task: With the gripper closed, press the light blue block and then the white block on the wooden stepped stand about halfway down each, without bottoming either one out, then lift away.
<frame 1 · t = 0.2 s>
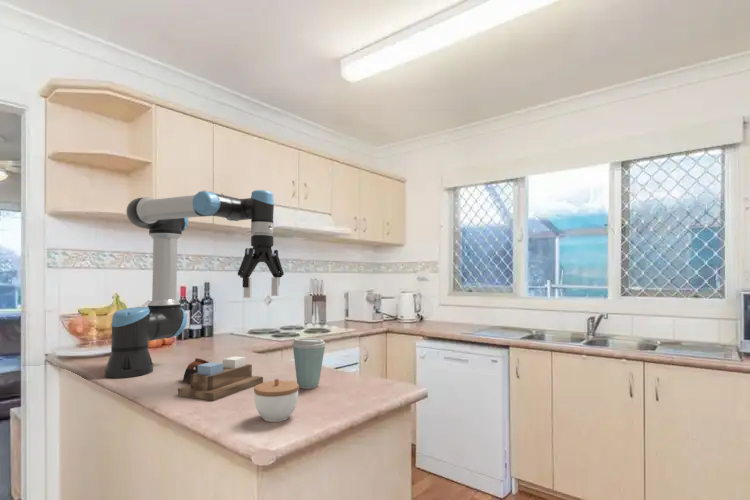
hand: (261, 296, 145), 28 cm above the countertop, fingers open, 13 cm apart
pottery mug: (198, 381, 141), on the countertop
lidded jar: (276, 418, 103), on the countertop
white block: (234, 364, 135), point 7 cm above the countertop, slide at 0.0 cm
light blue block: (210, 371, 126), point 7 cm above the countertop, slide at 0.0 cm
wooden stepped stand: (222, 388, 130), on the countertop
disposable coffee cup: (308, 387, 132), on the countertop
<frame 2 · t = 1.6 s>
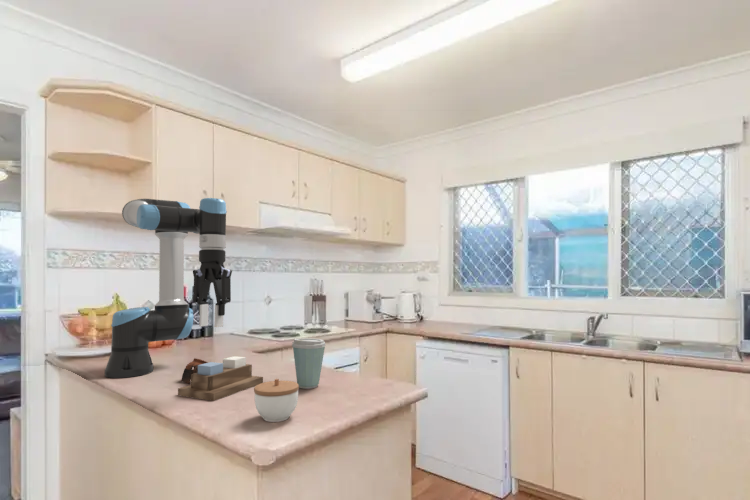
hand: (211, 326, 127), 20 cm above the countertop, fingers open, 5 cm apart
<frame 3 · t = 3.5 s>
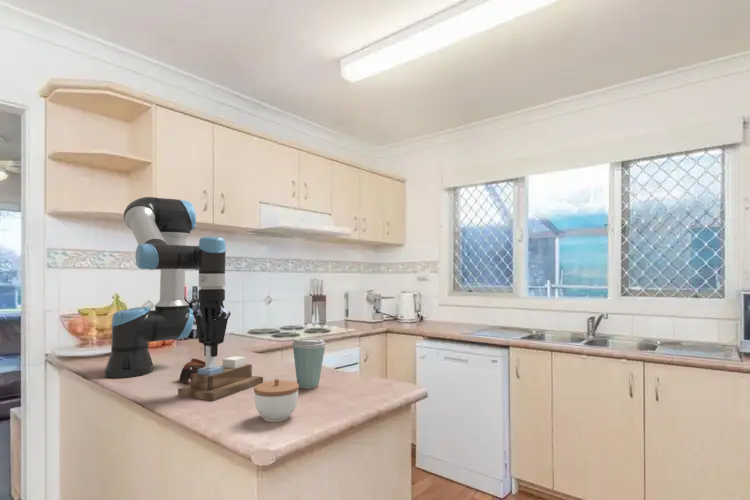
hand: (210, 367, 126), 8 cm above the countertop, fingers closed
light blue block: (210, 374, 126), point 5 cm above the countertop, slide at 1.1 cm, touching gripper
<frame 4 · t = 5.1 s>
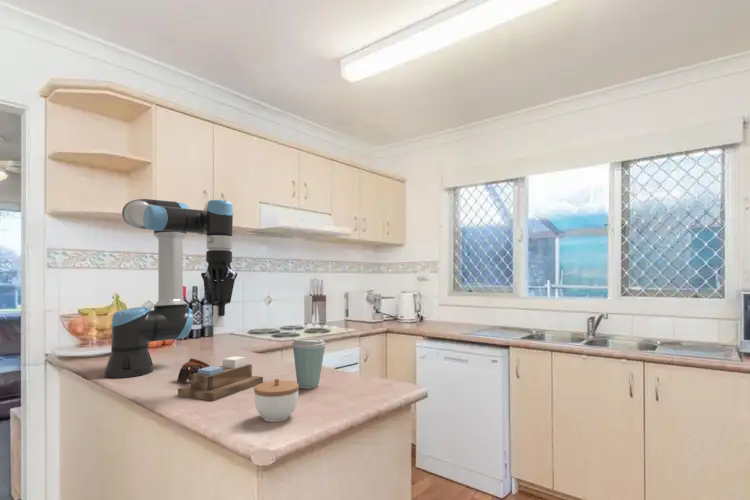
hand: (218, 326, 129), 19 cm above the countertop, fingers closed
light blue block: (210, 375, 126), point 5 cm above the countertop, slide at 1.2 cm
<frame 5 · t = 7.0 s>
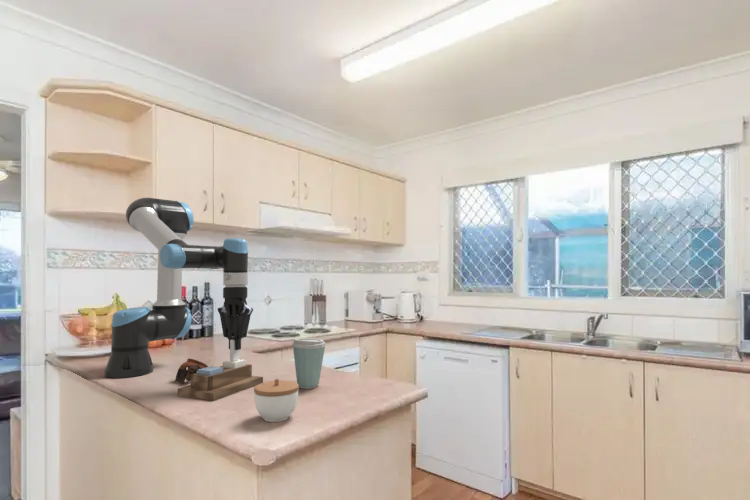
hand: (234, 359, 135), 8 cm above the countertop, fingers closed
white block: (234, 367, 135), point 6 cm above the countertop, slide at 0.8 cm, touching gripper
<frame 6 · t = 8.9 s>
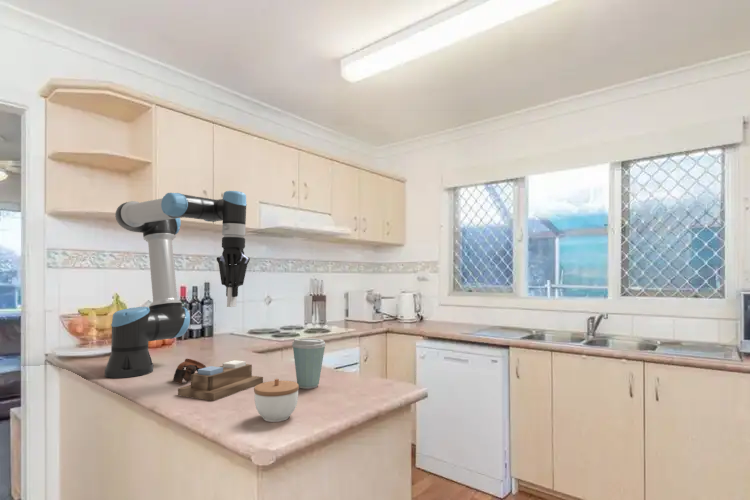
hand: (231, 306, 142), 25 cm above the countertop, fingers closed
white block: (234, 368, 135), point 5 cm above the countertop, slide at 1.3 cm
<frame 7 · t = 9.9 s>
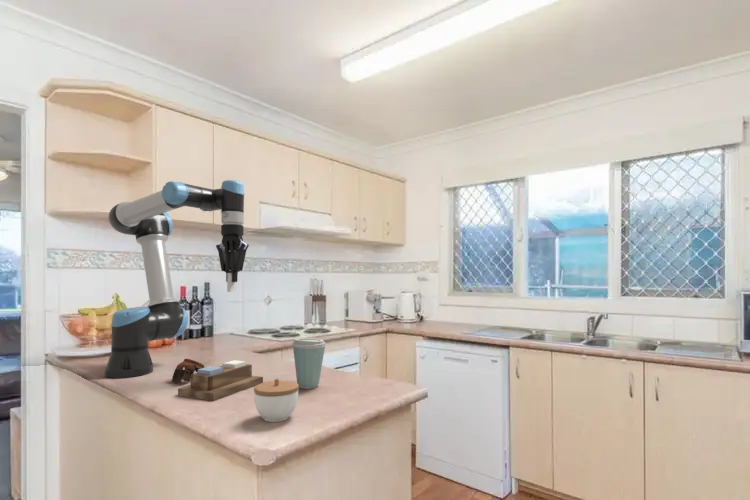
hand: (231, 291, 147), 29 cm above the countertop, fingers closed
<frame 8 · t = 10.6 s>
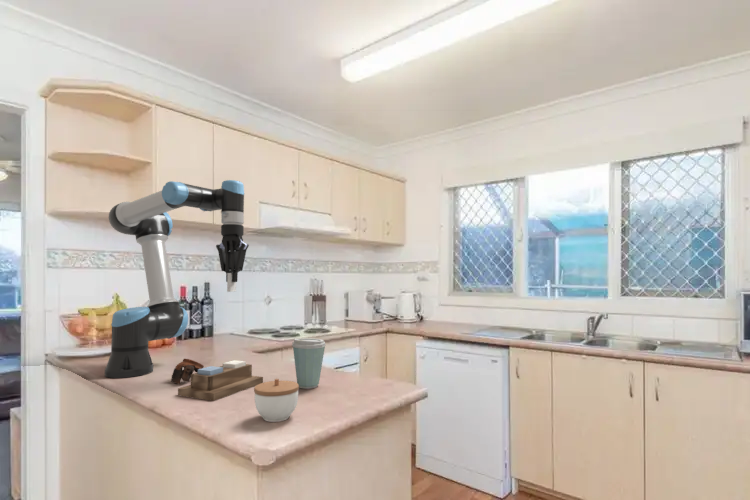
hand: (231, 291, 147), 29 cm above the countertop, fingers closed
at the end: light blue block slide at 1.2 cm; white block slide at 1.3 cm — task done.
